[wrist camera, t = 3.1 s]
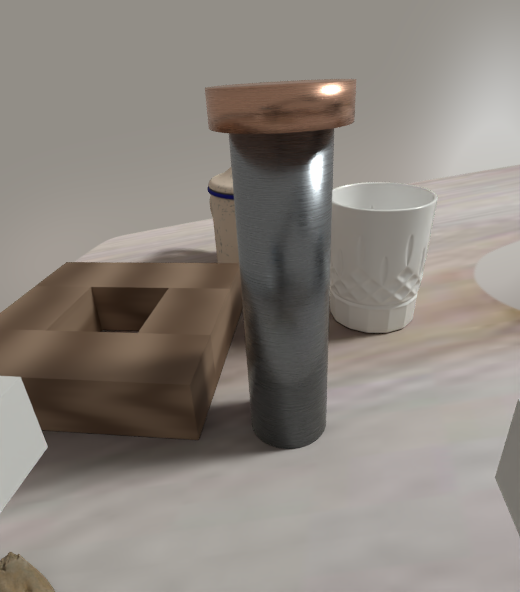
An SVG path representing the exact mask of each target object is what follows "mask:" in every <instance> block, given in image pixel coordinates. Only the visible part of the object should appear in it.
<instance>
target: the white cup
mask: <svg viewBox="0 0 520 592" xmlns="http://www.w3.org/2000/svg"><path fill="white" fill-rule="evenodd" d="M437 200H438V196H437V195H436V194H435V193H434V192H433V191H431V190H429V189H426V188H423V187H419V186H415V185H410V184H403V183H391V182H390V183H389V182H368V183H356V184H349V185H344V186H341V187H337V188H334V189H332V223H331V260H330V311H331V313H332V315H333V317H334V318H335V320H336V321H337V322H339V323H341V324H342V325H344V326H346V327H348V328H350V329H354V330H358V331H362V332H366V333H388V332H391V331H395V330H398V329H402V328H404V327H405V326H406V325H407V324H408V323H410V322H411V321H412V319H413V315H414V309H415V303H416V298H417V292H418V290H419V288H420V285H421V280H422V276H423V271H424V266H425V261H426V258H427V253H428V248H429V242H430V237H431V231H432V226H433V221H434V215H435V210H436V205H437Z"/></svg>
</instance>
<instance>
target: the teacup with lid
mask: <svg viewBox="0 0 520 592" xmlns="http://www.w3.org/2000/svg"><path fill="white" fill-rule="evenodd" d="M208 192H209V193H210V194H211V196H210V209H211V213H212V217H213V222H214V231H215V241H216V250H217V260H218V263H239V255H238V242H237V230H236V217H235V204H234V192H233V179H232V167H231V168H229V169H228V170H227V171H226V172H224V173H222V174H219V175H216V176H214V177H213V178H212V179H211V180H210V182H209V186H208Z"/></svg>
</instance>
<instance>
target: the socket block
mask: <svg viewBox="0 0 520 592" xmlns="http://www.w3.org/2000/svg"><path fill="white" fill-rule="evenodd" d="M242 308H243V305H242V292H241V280H240V267H239V263H95V262H66V263H65V264H64V265H62V266H61V267H60V268H59V269H57V270H56V271H55V272H53V273H52V274H51V275H49V276H48V277H47V278H45V279H44V280H43V281H41V282H40V283H39V284H38V285H36V286H35V287H34V288H32V289H31V290H30V291H28V292H27V293H26V294H25V295H23V296H22V297H21V298H19V299H18V300H17V301H15V302H14V303H13V304H12V305H10V306H9V307H8V308H6V309H5V310H4V311H2V312H1V313H0V376H13V377H21V379H22V382H23V384H24V387H25V389H26V392H27V395H28V397H29V400H30V402H31V405H32V407H33V410H34V413H35V415H36V418H37V420H38V423H39V425H40V428H41V430H47V431H63V432H79V433H95V434H111V435H127V436H143V437H158V438H174V439H190V440H199V438H200V435H201V432H202V429H203V426H204V423H205V420H206V417H207V414H208V411H209V408H210V405H211V402H212V399H213V396H214V393H215V390H216V387H217V384H218V381H219V378H220V375H221V372H222V369H223V365H224V362H225V359H226V356H227V353H228V350H229V347H230V344H231V341H232V338H233V335H234V332H235V329H236V326H237V323H238V320H239V317H240V314H241V311H242ZM102 330H131V331H139V332H138V333H119V332H101V331H102Z"/></svg>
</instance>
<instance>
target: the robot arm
mask: <svg viewBox="0 0 520 592" xmlns="http://www.w3.org/2000/svg"><path fill="white" fill-rule="evenodd" d="M47 448H48V446H47V443H46V441H45V438H44V436H43V433H42V431H41V428H40V425H39V423H38V420H37V418H36V415H35V413H34V410H33V407H32V405H31V402H30V400H29V397H28V395H27V392H26V389H25V387H24V384H23V382H22V379H21V377H13V376H0V513H1V512H2V510H3V509H4V507H5V506H6V505H7V503H8V502H9V500H10V499H11V498H12V496H13V495H14V493H15V492H16V491H17V489H18V488H19V487H20V485H21V484H22V482H23V481H24V480H25V478H26V477H27V475H28V474H29V473H30V471H31V470H32V468H33V467H34V466H35V464H36V463H37V462H38V460H39V459H40V457H41V456H42V455H43V453H44V452H45V450H46V449H47ZM495 479H496V481H497V483H498V486H499V488H500V490H501V493H502V495H503V498H504V500H505V502H506V505H507V507H508V510H509V512H510V514H511V517H512V519H513V522H514V524H515V526H516V529H517V531H518V533H519V536H520V399H518V402H517V405H516V409H515V412H514V415H513V419H512V422H511V425H510V429H509V432H508V436H507V439H506V442H505V446H504V449H503V452H502V456H501V459H500V463H499V466H498V469H497V473H496V476H495Z"/></svg>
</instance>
